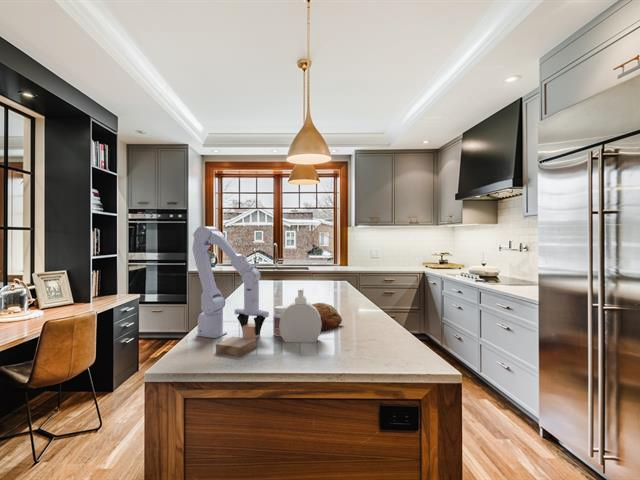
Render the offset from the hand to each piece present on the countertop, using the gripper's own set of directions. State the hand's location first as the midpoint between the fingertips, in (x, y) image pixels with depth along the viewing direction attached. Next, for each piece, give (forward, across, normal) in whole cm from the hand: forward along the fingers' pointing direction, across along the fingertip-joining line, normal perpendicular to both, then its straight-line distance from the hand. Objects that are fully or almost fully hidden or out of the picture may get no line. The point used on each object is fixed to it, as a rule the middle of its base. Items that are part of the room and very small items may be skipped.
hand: (251, 333), depth 146 cm
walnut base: (+1, +4, -16) cm, 17 cm away
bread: (+2, +16, +26) cm, 30 cm away
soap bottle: (+2, +20, +3) cm, 20 cm away
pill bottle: (+2, +9, +8) cm, 12 cm away
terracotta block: (+2, 0, 0) cm, 2 cm away
